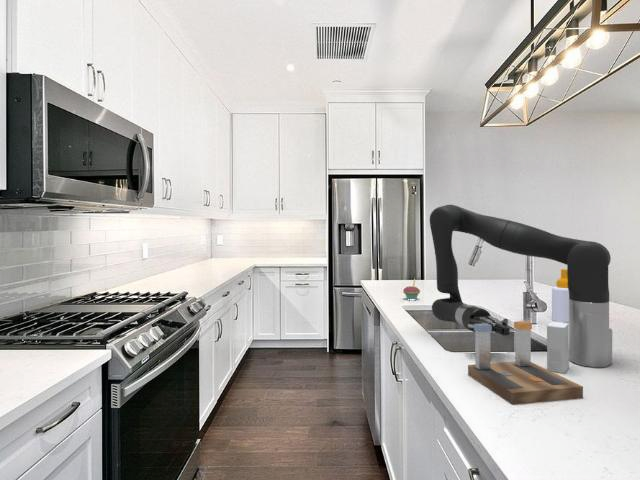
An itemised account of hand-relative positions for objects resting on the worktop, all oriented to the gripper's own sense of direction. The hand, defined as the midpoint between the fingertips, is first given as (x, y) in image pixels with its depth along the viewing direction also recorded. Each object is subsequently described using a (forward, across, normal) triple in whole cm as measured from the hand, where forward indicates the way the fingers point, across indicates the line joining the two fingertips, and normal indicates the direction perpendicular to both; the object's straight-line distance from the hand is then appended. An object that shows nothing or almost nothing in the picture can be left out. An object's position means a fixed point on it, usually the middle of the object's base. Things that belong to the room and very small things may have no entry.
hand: (506, 331), depth 109 cm
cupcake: (-103, +14, +10) cm, 104 cm away
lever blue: (+7, -11, +7) cm, 15 cm away
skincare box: (+4, +12, +10) cm, 16 cm away
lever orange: (+7, 0, +7) cm, 9 cm away
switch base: (+12, -4, +10) cm, 16 cm away
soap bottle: (-45, +56, +10) cm, 72 cm away
